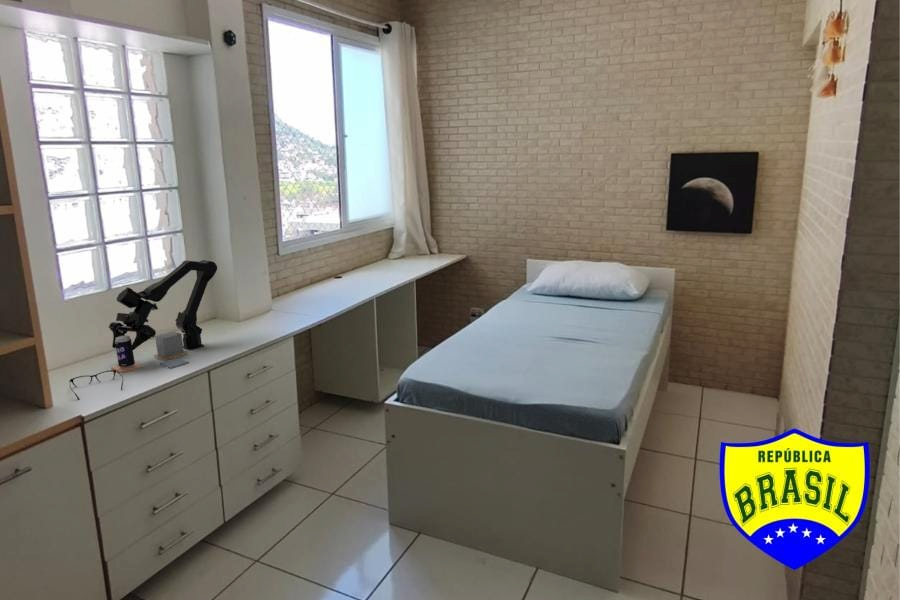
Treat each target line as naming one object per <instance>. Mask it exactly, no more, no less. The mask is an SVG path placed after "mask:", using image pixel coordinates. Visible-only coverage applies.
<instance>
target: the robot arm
mask: <svg viewBox="0 0 900 600" xmlns="http://www.w3.org/2000/svg"><path fill="white" fill-rule="evenodd" d="M217 270H218V266H217V263H216V262H214V261H212V260H209V259H208V260H207V259H202V260H199V261H196V260H188V259H186V260H185V259H184V261H182V263H180V264H179V265H178V266H177V267H175V268H174V269H173V270H172V271H171V272H169V273H168V274H167V275H165V276H164V278H162V279H161V280H160V281H156V282H155V283H152V284H150V285H149V286H147V287H146V288H145V289H144V290H141V291H139V292H136V291H134V290H133V289H132V288H130V287H128V286H127V287H125V289H123V290H121V292H120V293H118V295H117V297H116V302H118V303H119V304H121V305H123V306H125V307H126V308H129V309H133V311H129V313H124V312H117V315H116V319H115V321H113V322H110V324H109V326H108V327H107V328H109V329H110V331H111V332H112V334H113V335H112V345H111V347H112V348H113V349H116V346H115V340H116V339H115V338H116V337H119V336H126V334H127V333H128V332H129V333H130V332H131V333H135V338H134V339H133V342H132V347H131V349H132V350H133V351H134V350H136V349H137V348H138V347H140V346H141V345H142V344H143V343H145V342H146V341H148V340H150V339H152V338H155V336H156V334H157V332H156V329H154V328H153V327H152V326H151V325H149V324H146V323H148V322H149V319H148V317H149V315H150V314H151V312H152V311H157V310H159V307H158V305H157V303H158V302H161V301H162V300H163V299H164V298H165V296H166V295H167V294H168V292H169V290H170V289H171V288H172V287H173V286H174V285H175V284H176V283H178V282H179V281H180V280H181V279H182V278H184V277H185V276H187V274H189V273H190V272H191V271H196V280H195V283H194V284H193V285H194V286H193V288H192V290H191V293H190V296H189V298H188V301H187V304H186V307H185V309H184V310H183V311H182V312H181V311H178V312H177V313H178V314H177V317H176V319H175V320H174V321H175V326H176V328H177V329H178V330H180V332H181V334H182V333H183V334H182V343H183V349H186V350H194V349H198V348H201V347H204V346H205V345H204V344H202V336H201V334H202V332H203V328H201V327H200V326H198V325H197V322H198V315H197V314H198V313H197V312H198V310H199V307H200V304H201V301H202V300H203V299H202V298H203V296H204V294H205V291H206V288H207V285H208V283H209V282H210V280H212V279H213V278H214V277H215V275H216V273H217ZM152 302H153V303H152ZM154 302H155V303H154ZM121 322H122V323H121Z"/></svg>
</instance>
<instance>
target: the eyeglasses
mask: <svg viewBox="0 0 900 600" xmlns="http://www.w3.org/2000/svg"><path fill="white" fill-rule="evenodd" d="M108 372H112V373H113V377H112V379H111V381H112V380H114V379H115V377H116V373H117V374H119V375H120V376H121V377H122V379H124V377H123V375H122V373H120V372H118V371H116V370H113V369H111V370H105V371H101V372H98V373H96V374H91V375H88V378H89V377H90V381H89V383H88V385H90V384H91V383H92V382H93V378H94V377H95V379H96V381H97V382H99V383H101V382H102V381H101V380H100V379H99V378H98V376H99V375H101V374H103V373H108ZM83 377H85V378H86V377H87V375H80V376H76V377H73V378H70V380H69V382H68V383H72V385H74V387H75V388H78V385H76V384H75V382H74V380H75V379H78V378H83ZM123 385H124V380H122V381H121V387H120V391H121V390H122V391H123ZM69 388H70V389H71V392H73V394H74V395H75V397H76V398H77V400H78V401H80V399H81V398H79V396H78V395H77V393H76V392H75V391H74V390H73V388H72V386H71V385H69Z"/></svg>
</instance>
